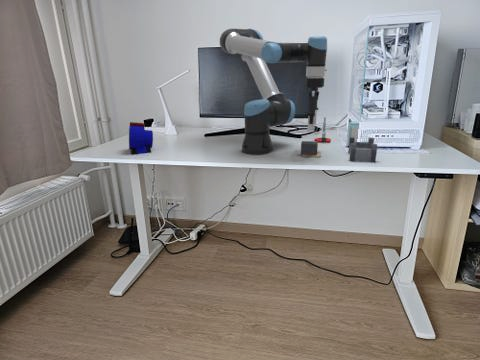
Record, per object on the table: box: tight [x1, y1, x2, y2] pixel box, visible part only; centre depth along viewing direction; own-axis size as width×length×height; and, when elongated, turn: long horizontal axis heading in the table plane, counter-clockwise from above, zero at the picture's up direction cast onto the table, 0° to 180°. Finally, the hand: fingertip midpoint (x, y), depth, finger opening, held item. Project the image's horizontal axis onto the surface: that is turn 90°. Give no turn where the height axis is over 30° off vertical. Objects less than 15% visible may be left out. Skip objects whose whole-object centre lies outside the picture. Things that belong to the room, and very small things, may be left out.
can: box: [346, 120, 359, 147], centre depth 150 cm, size 7×7×12 cm
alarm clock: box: [128, 121, 154, 156], centre depth 157 cm, size 12×12×15 cm
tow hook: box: [314, 117, 332, 144], centre depth 164 cm, size 8×13×9 cm
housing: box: [347, 137, 378, 163], centre depth 135 cm, size 10×14×7 cm
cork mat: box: [301, 150, 322, 159], centre depth 141 cm, size 8×8×1 cm
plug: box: [300, 140, 319, 156], centre depth 141 cm, size 7×5×5 cm
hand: (311, 128), depth 138 cm, fingers open, 13 cm apart
